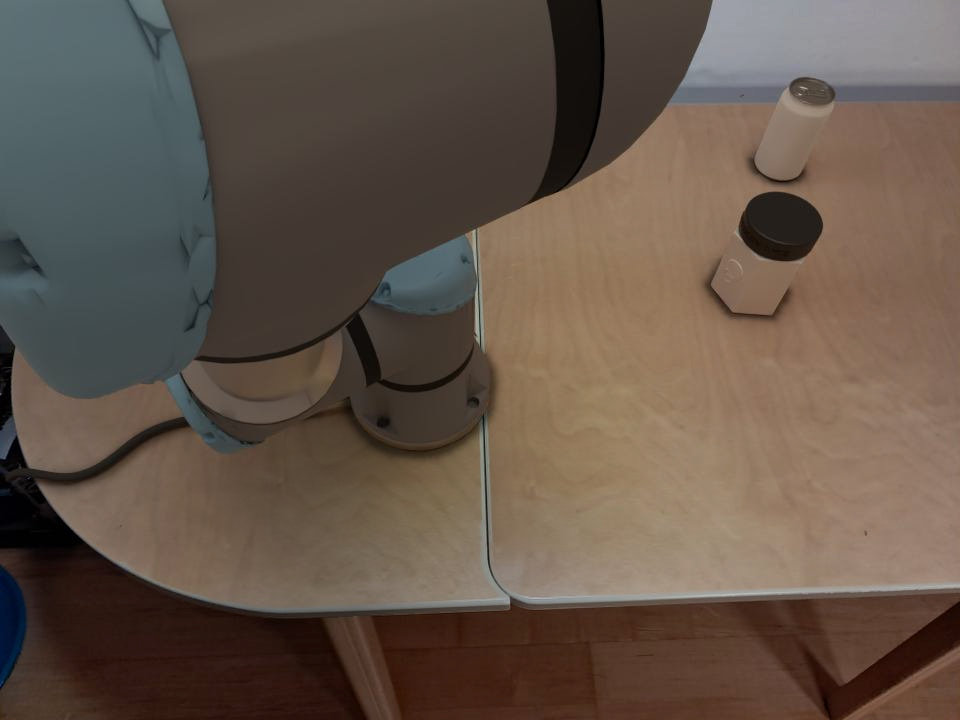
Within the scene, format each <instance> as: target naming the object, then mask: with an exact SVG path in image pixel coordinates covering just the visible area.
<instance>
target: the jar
mask: <svg viewBox="0 0 960 720" xmlns="http://www.w3.org/2000/svg"><path fill="white" fill-rule="evenodd" d="M823 230H824V221H823V218H822V216H821V213H820V212H819V211H818V209H817V208H816V207H815V206H814V205H813V204H812V203H811V202H809V201H808V200H806V199H804V198H803V197H800V196H799V195H796V194H793V193H790V192H786V191H767V192H763V193H760V194H757V195H756V196H754V197H752V198H751V199H750V200H749V201H748V203H747V204H746V206H745V209H744V210H743V211H742V213H741V216H740V220H739V223H738V225H737V227H736V228H735V229H734V231H733V233H732V236H731V238H730V240H729V242H728V244H727V247H726V248H725V251H724V254H723V256H722V258H721V261H720V263H719V265H718V266H717V269H716V271H715V274H714V276H713V278H712V280H711V283H710V287H711V288H712V290H713V291H714V293H716V295H717V296H718V297H719V298H720V299H721V300H722V302H723V303H724V304H725V305H726V307H727V308H728V309H729V310H730V311H731V312H732V313H734V314H748V315H759V316H772V315H774V313H775V311H776V309H777V307H778V306H779V304H780V302H781V301H782V300H783V297H784V296H785V295H786V292H787V291H788V289H789V287H790V286H791V284H792V282H793V280H795V279H794V278H795V277H796V275H797V274H798V272H799V271H800V269H801V267H802V265H803V264H804V262H805V260H806V258H808V257H807V256H808V255H809V254H810V253H811V252H812V250H813V249H814V247H815V245H816V244H817V242H818V240H819V239H820V237H821V235H822V234H823Z"/></svg>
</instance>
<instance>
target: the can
mask: <svg viewBox="0 0 960 720" xmlns="http://www.w3.org/2000/svg"><path fill="white" fill-rule="evenodd" d="M788 85H789V86H788V87H787V88H785V89H784V90H783V92H782V93H781V95H780V97H779V100H778V102H777V104H776V107H775V109H774V110H773V113H772V115H771V118H770V120H769V123H768V124H767V128H766V129H765V132H764V135H763V136H762V139H761V142H760V143H759V146H758V148H757V151H756V153H755V156H754V164H755V167H756V169H757V170H758V171H759V173H760V174H761V175H763V176H764V177H765V178H768V179H771V180H772V181H773V180H774V181H779V182H787V181H790V180H794V179H796V178H798V177H799V176H800V175H801V173H802V172H803V170H804V168H805V166H806V164H807V163H808V160H809V159H810V156H811V155H812V153H813V151H814V148H815V147H816V145H817V143H818V141H819V139H820V137H821V135H822V133H823V131H824V129H825V128H826V125H827V123H828V121H829V119H830V117H831V115H832V113H833V111H834V107H835V99H836V96H837V93H836V90H835V88H834V87H833V86H832V85H831V83H829V82H827V81H825V80H824V79H820V78H818V77H815V76H814V77H813V76H801V77H797V78H795V79H793V80H792V81H790V83H789V84H788Z"/></svg>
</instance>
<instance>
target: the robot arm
mask: <svg viewBox="0 0 960 720" xmlns="http://www.w3.org/2000/svg"><path fill="white" fill-rule="evenodd" d="M713 1H714V0H0V326H1V327H2V329H3V330H4V332H5V333H6V335H7V336H8V338H9V340H10V341H11V342H12V344H13V345H14V347H15V348H16V350H17V351H18V352H19V353H20V355H21V356H22V357H23V359H24V360H25V361H26V363H27V365H28V366H29V367H30V368H31V369H32V370H33V372H34V373H35V374H36V375H37V376H38V378H40V379H41V380H42V381H43V383H45V384H46V385H47V386H48V387H49V388H51V390H53V391H55V392H56V393H58V394H60V395H63V396H66V397H69V398H73V399H77V400H78V399H79V400H92V399H93V400H95V399H99V398H102V397H106V396H109V395H112V394H115V393H117V392H120V391H123V390H125V389H128V388H130V387H133V386H136V385H139V384H144V385H154V384H155V382H158V381H161V382H164V384H165V386H166V388H167V390H168V392H169V393H170V395H171V397H172V399H173V401H174V403H175V405H176V406H177V408H178V409H179V411H180V413H181V414H182V416H180V417H175V418H172V419H168V420H165V421H162V422H159V423H156V424H154V425H152V426H150V427H148V428H146V429H144V430H142V431H140V432H139V433H137V434H136V435H134V436H132V437H131V438H130V439H128V440H127V441H125V442H124V443H123V444H122V445H120V446H119V447H118V448H117V449H115V450H114V451H113V452H112V453H111V454H110V455H108V456H106V457H105V458H104V459H102V460H101V461H99V462H97V463H96V464H94V465H92V466H89V467H87V468H85V469H82V470H77V471H73V472H55V471H48V470H43V469H39V468H38V469H37V468H31V467H20V468H15V469H14V470H13V469H12V470H11V471H10V472H8V473H7V475H6V476H5V481H6V482H8V483H9V482H14V481H15V480H16V479H18V478H32V479H39V480H43V481H48V482H49V481H51V482H57V483H58V482H59V483H69V482H77V481H82V480H84V479H88V478H91V477H94V476H95V475H97V474H100V473H101V472H103V471H105V470H106V469H108V468H109V467H111V466H112V465H113V464H115V463H116V462H117V461H119V460H120V459H121V458H123V457H124V456H125V455H126V454H128V453H129V452H130V451H131V450H132V449H134V448H135V447H136V446H138V445H139V444H140V443H142V442H143V441H145V440H146V439H148V438H150V437H152V436H154V435H157V434H159V433H161V432H164V431H167V430H171V429H174V428H177V427H181V426H186V425H189V426H190V428H191V429H193V431H194V432H195V434H197V435H199V436H200V438H201V440H202V441H203V443H204V444H205V445H206V446H207V447H209V448H210V449H211V450H213V451H214V452H216V453H219V454H221V455H233V454H237V453H239V452H241V451H243V450H245V449H252V448H255V447H258V446H260V445H262V444H263V443H264V442H265V441H266V440H267V439H269V438H271V437H272V436H275V435H276V434H278V433H281V432H282V431H284V430H286V429H288V428H290V427H292V426H294V425H296V424H298V423H300V422H302V421H303V420H305V419H307V418H309V417H311V416H314V415H315V414H317V413H319V412H321V411H323V410H325V409H327V408H329V407H331V406H333V405H335V404H336V403H339V402H343V401H345V400H348V399H349V402H350V405H351V408H352V411H353V414H354V416H355V418H356V420H357V421H358V423H359V425H361V427H362V428H363V429H364V430H365V431H366V432H367V433H368V434H369V435H370V436H372V437H373V438H375V439H376V440H377V441H379V442H381V443H383V444H385V445H387V446H390V447H394V448H397V449H400V450H407V451H429V450H434V449H439V448H443V447H446V446H448V445H450V444H453V443H455V442H457V441H459V440H460V439H462V438H464V436H467V434H469V433H470V432H471V431H472V430H473V429H474V428H475V427H476V426H477V425H478V424H479V422H481V419H482V418H483V416H484V415H485V413H486V410H487V409H488V406H489V403H490V398H491V394H492V393H491V391H492V373H491V368H490V366H489V362H488V359H487V356H486V355H485V352H484V351H483V349H482V347H481V345H480V344H479V342H478V341H477V339H476V338H478V335H477V333H476V331H475V330H476V329H475V328H476V327H475V323H476V292H477V285H478V275H477V271H476V265H475V256H474V252H473V247H472V245H471V243H470V240H469V238H468V237H467V235H466V234H468V233H470V232H472V231H475V230H477V229H479V228H481V227H483V226H485V225H488V224H490V223H492V222H495V221H497V220H498V219H501V218H503V217H505V216H507V215H509V214H512V213H514V212H517V211H519V210H520V209H522V208H524V207H526V206H528V205H530V204H533V203H535V202H537V201H539V200H541V199H544V198H546V197H550V196H552V195H555V194H557V193H559V192H563V191H565V190H568V189H570V188H571V187H573V186H575V185H576V184H578V183H580V182H582V181H584V180H585V179H587V178H588V177H591V176H592V175H594V174H595V173H597V172H599V171H600V170H602V169H604V168H606V167H607V166H609V165H611V164H612V163H613V162H614V161H616V160H617V159H618V158H619V157H621V156H622V155H623V154H624V153H625V152H626V151H628V150H629V149H631V148H632V147H633V145H634V144H635V143H636V142H637V141H638V140H639V139H640V137H641V136H642V135H643V134H644V133H645V132H646V131H647V130H648V129H649V128H650V127H651V126H652V124H654V122H655V121H656V120H657V119H658V118H659V116H660V115H661V114H662V113H663V112H664V110H665V109H666V107H667V106H668V104H669V103H670V101H671V99H672V98H673V96H674V95H675V93H676V91H677V90H678V88H679V87H680V85H681V84H682V82H683V81H684V79H685V77H686V75H687V73H688V71H689V69H690V66H691V64H692V62H693V60H694V58H695V55H696V53H697V50H698V48H699V47H700V43H701V41H702V39H703V36H704V35H705V32H706V30H707V26H708V22H709V18H710V15H711V10H712V6H713Z"/></svg>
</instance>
